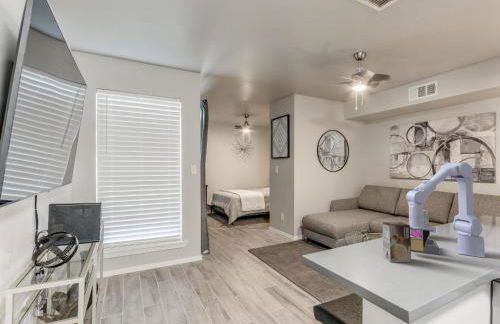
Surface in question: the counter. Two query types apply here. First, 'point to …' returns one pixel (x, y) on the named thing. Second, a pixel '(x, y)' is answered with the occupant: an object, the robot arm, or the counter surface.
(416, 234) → the candy bar box
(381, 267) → the counter surface
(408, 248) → the coffee box
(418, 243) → the tan block
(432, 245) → the tote
